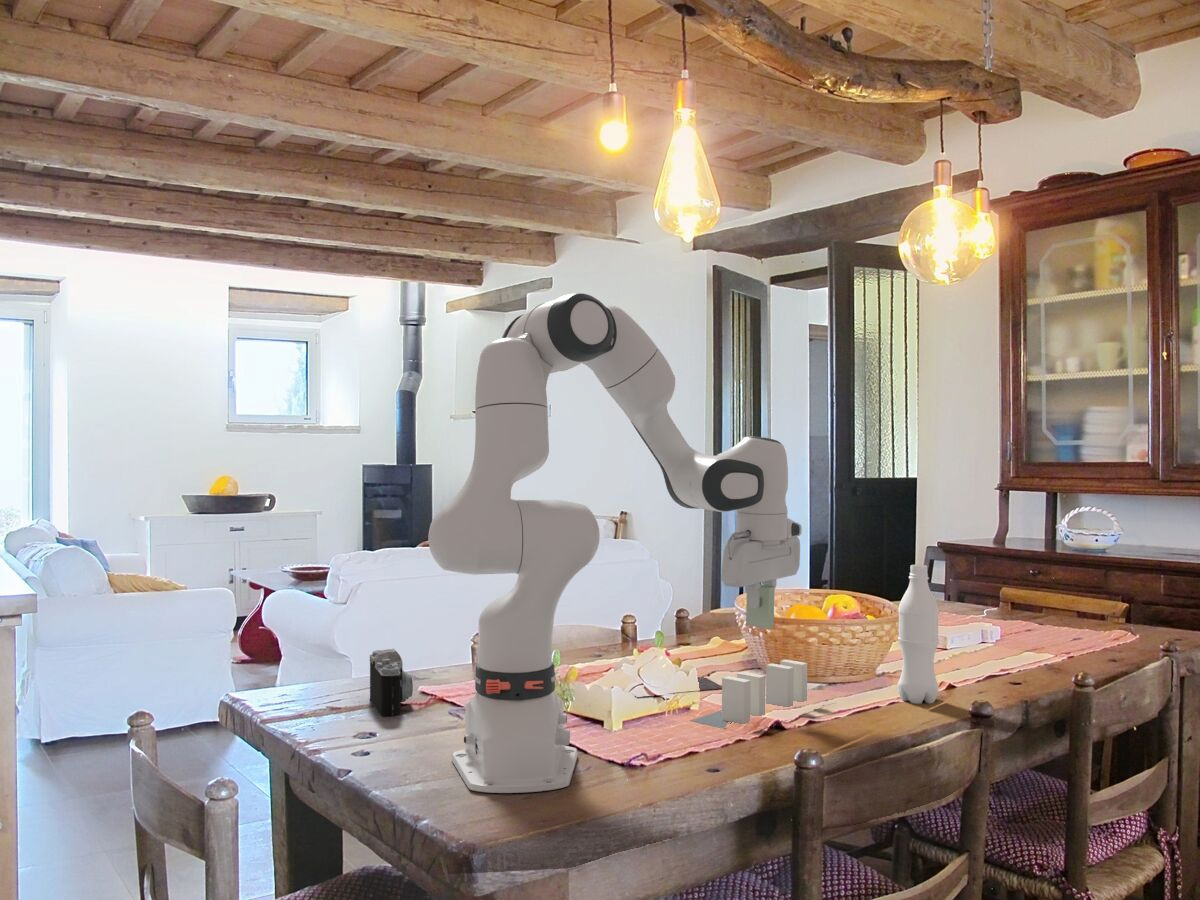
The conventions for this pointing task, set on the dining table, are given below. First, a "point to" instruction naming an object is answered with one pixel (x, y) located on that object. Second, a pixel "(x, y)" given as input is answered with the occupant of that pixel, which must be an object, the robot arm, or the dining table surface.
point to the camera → (388, 683)
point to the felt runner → (712, 720)
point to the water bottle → (918, 639)
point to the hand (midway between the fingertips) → (760, 606)
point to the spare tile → (762, 609)
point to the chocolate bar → (708, 685)
